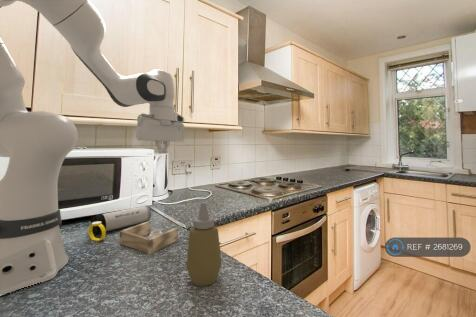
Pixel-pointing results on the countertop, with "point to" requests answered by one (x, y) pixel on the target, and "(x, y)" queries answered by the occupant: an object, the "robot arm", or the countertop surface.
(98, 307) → the countertop surface
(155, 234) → the pale pinkish lump
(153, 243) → the box
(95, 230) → the travel mug
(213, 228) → the squeeze bottle
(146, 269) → the countertop surface
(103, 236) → the watch
